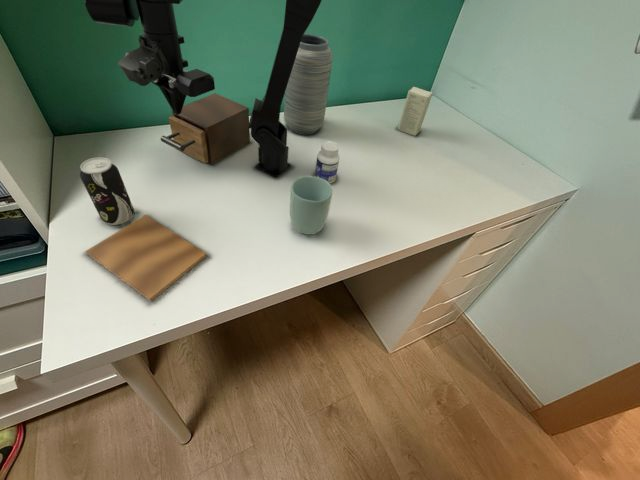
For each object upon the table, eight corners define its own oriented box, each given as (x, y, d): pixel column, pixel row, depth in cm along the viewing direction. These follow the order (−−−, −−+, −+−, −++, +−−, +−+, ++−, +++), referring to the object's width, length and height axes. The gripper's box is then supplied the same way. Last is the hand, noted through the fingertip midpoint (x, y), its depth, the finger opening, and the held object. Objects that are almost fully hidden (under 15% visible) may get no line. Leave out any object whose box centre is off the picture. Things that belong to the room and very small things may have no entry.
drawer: (190, 171, 74) (184, 141, 68) (159, 155, 77) (151, 124, 71) (241, 143, 85) (239, 114, 79) (212, 129, 88) (209, 100, 82)
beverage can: (138, 222, 63) (117, 170, 54) (104, 230, 61) (77, 177, 52) (132, 204, 66) (112, 152, 57) (100, 211, 64) (73, 158, 55)
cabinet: (212, 164, 78) (207, 127, 71) (179, 147, 82) (171, 110, 75) (250, 142, 87) (248, 107, 80) (218, 127, 90) (214, 92, 83)
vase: (275, 127, 94) (277, 37, 78) (298, 113, 101) (304, 28, 85) (309, 141, 91) (318, 51, 74) (330, 127, 98) (343, 41, 82)
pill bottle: (313, 170, 82) (317, 138, 75) (334, 171, 82) (340, 140, 76) (315, 183, 78) (319, 151, 72) (336, 184, 79) (343, 152, 72)
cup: (321, 243, 65) (328, 205, 58) (283, 235, 65) (286, 196, 58) (328, 218, 70) (336, 180, 63) (293, 210, 71) (297, 171, 63)
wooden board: (207, 256, 59) (206, 253, 59) (150, 301, 52) (149, 298, 51) (146, 217, 64) (145, 214, 63) (86, 254, 56) (85, 251, 56)
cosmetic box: (419, 131, 103) (434, 92, 94) (414, 136, 100) (429, 97, 92) (401, 124, 105) (413, 85, 96) (396, 129, 102) (408, 90, 93)
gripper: (83, 23, 56) (114, 111, 67) (159, 54, 51) (178, 144, 62) (139, 14, 63) (159, 95, 74) (211, 40, 58) (220, 123, 69)
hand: (177, 113), depth 70 cm, fingers closed
